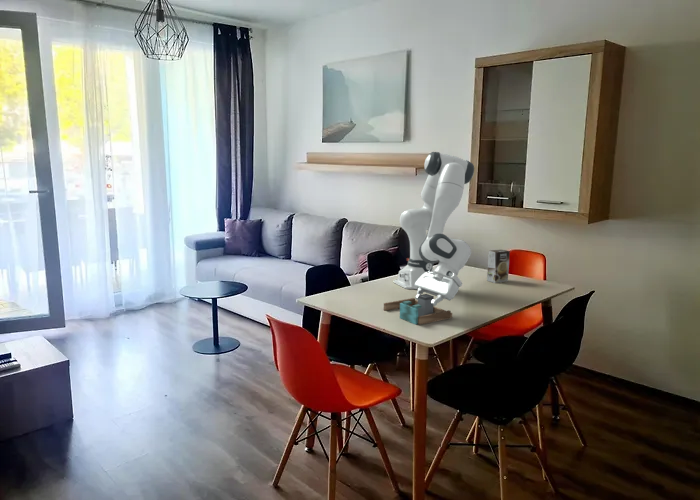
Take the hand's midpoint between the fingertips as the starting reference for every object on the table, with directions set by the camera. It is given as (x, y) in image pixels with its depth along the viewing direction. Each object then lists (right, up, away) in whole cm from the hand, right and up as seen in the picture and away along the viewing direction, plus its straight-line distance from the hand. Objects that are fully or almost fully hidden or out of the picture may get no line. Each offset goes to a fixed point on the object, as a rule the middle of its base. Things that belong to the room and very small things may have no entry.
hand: (424, 301), depth 206 cm
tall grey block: (0, -6, +1) cm, 7 cm away
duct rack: (-3, -6, +6) cm, 8 cm away
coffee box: (+47, +4, +64) cm, 80 cm away
